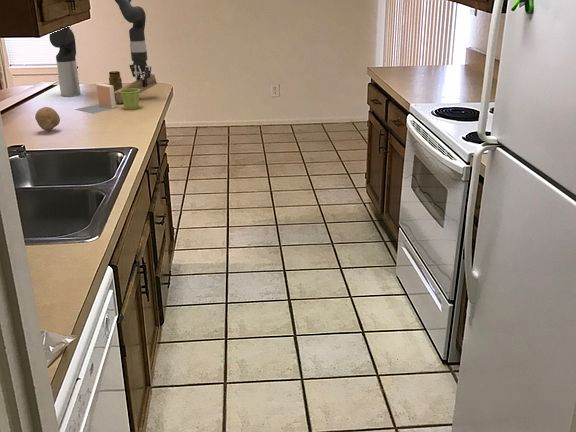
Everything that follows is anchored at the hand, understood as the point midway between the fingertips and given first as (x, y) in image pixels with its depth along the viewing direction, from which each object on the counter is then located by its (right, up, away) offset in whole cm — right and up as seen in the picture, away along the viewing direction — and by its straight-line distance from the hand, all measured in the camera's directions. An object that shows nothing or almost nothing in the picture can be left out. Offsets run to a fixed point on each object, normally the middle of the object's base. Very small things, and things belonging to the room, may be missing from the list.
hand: (142, 86), depth 301 cm
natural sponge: (-25, -29, -51) cm, 64 cm away
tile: (-13, -12, -14) cm, 23 cm away
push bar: (-2, -4, -2) cm, 5 cm away
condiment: (-15, -3, +11) cm, 19 cm away
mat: (-17, -14, -17) cm, 28 cm away
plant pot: (-1, -14, -16) cm, 22 cm away
